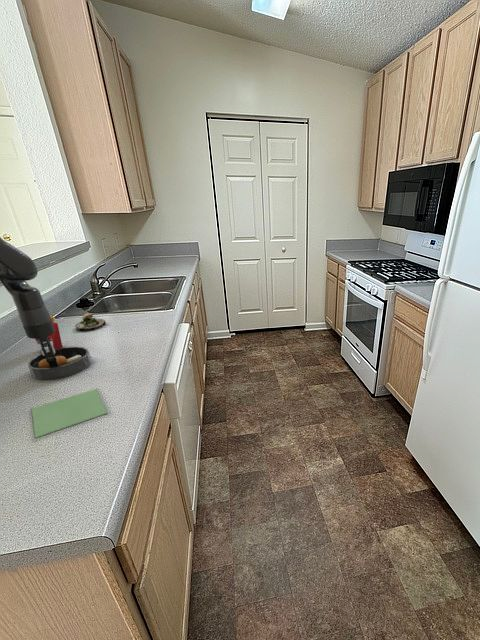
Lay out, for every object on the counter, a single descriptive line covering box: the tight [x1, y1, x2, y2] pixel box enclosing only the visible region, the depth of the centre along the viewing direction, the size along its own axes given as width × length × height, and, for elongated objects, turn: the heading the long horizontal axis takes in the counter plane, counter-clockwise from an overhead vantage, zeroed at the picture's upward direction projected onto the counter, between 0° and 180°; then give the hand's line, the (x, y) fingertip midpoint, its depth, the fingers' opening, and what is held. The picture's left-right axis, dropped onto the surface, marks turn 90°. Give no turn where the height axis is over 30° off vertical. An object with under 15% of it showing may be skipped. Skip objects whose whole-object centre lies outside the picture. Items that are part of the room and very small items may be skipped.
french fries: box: [20, 315, 63, 350], centre depth 124 cm, size 9×8×15 cm
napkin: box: [31, 388, 108, 439], centre depth 91 cm, size 16×16×1 cm
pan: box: [27, 346, 93, 381], centre depth 113 cm, size 17×17×4 cm
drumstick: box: [38, 355, 82, 368], centre depth 113 cm, size 12×4×4 cm, turn 127°
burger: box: [74, 313, 107, 332], centre depth 148 cm, size 12×12×8 cm
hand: (55, 368), depth 113 cm, fingers closed on pan, 4 cm apart
